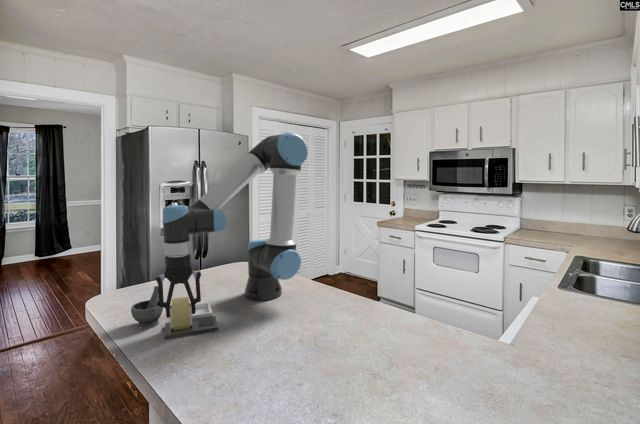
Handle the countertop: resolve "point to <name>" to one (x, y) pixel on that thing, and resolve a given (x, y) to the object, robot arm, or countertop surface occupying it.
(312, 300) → the countertop surface
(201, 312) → the white tray
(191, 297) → the robot arm
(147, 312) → the mortar and pestle
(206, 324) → the dark grey flat slab
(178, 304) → the brass block
